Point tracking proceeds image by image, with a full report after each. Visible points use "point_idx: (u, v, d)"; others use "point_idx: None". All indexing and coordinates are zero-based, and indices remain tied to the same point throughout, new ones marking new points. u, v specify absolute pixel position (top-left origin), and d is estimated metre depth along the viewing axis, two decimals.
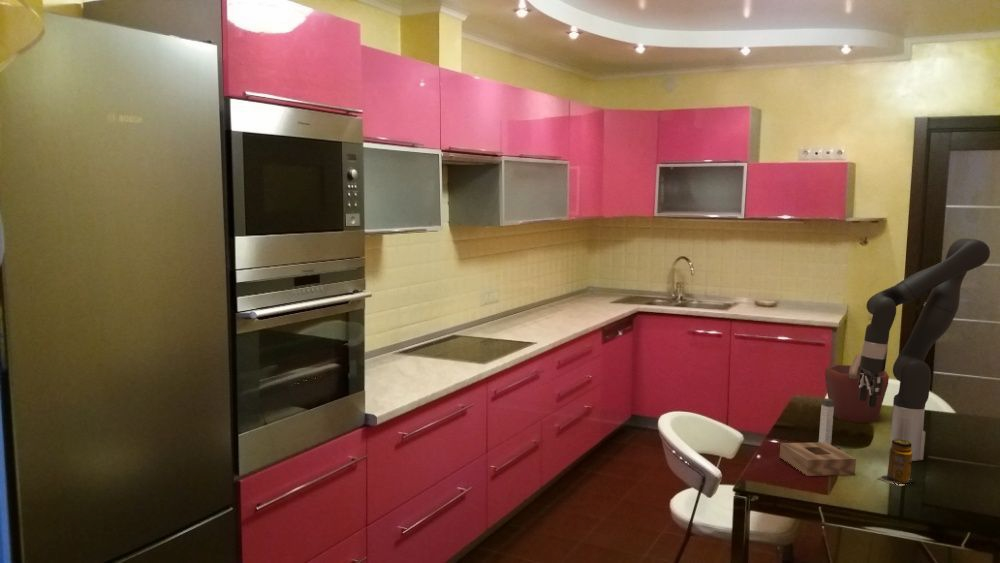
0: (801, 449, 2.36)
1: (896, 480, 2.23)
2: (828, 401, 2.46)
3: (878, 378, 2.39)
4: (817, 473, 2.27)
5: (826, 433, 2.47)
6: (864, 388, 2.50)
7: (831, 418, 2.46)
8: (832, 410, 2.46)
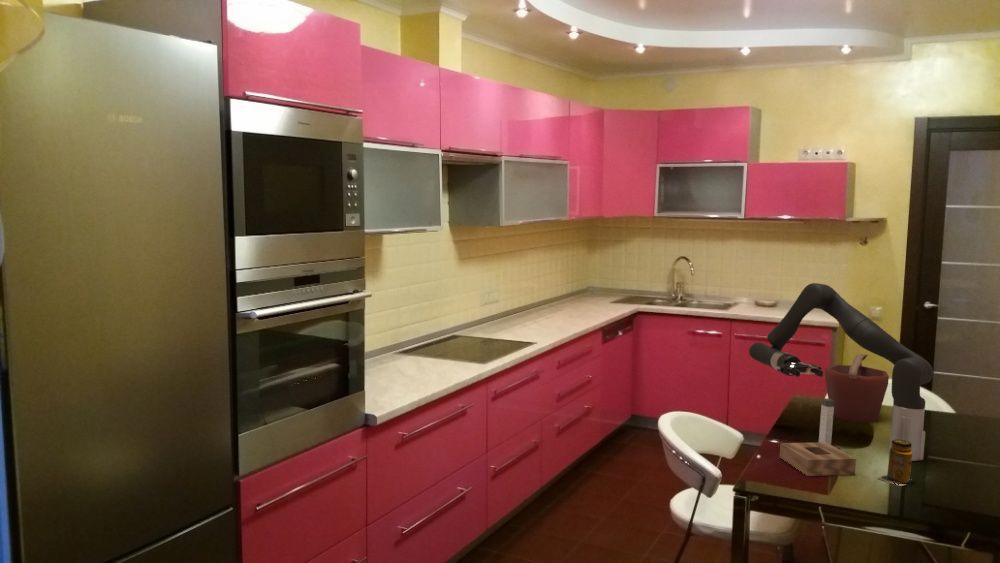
0: (801, 449, 2.36)
1: (896, 480, 2.23)
2: (828, 401, 2.46)
3: (777, 367, 2.66)
4: (817, 473, 2.27)
5: (826, 433, 2.47)
6: (814, 370, 2.62)
7: (831, 418, 2.46)
8: (832, 410, 2.46)
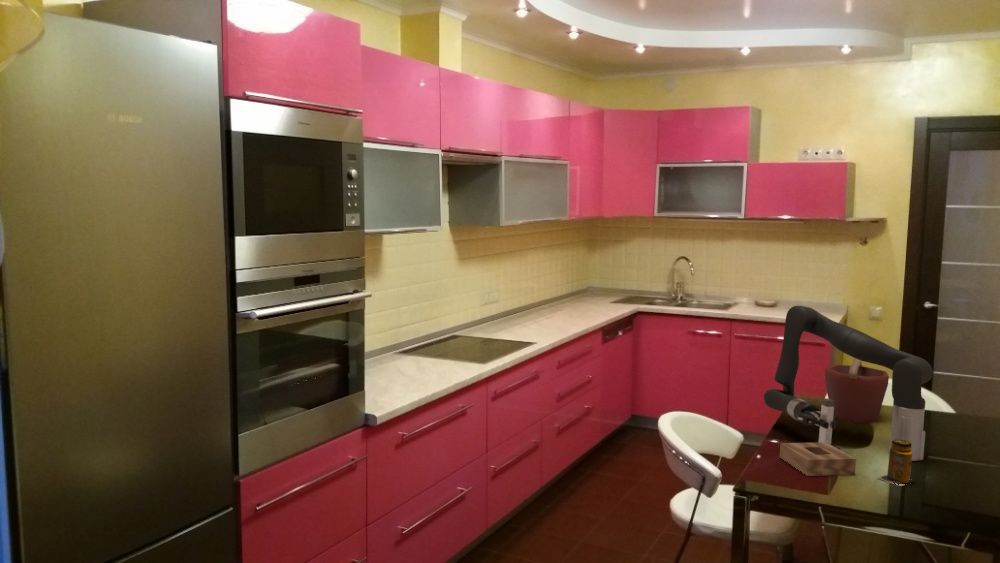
0: (801, 449, 2.36)
1: (896, 480, 2.23)
2: (828, 401, 2.46)
3: (798, 418, 2.53)
4: (817, 473, 2.27)
5: (826, 433, 2.47)
6: None
7: (831, 418, 2.46)
8: (832, 410, 2.46)
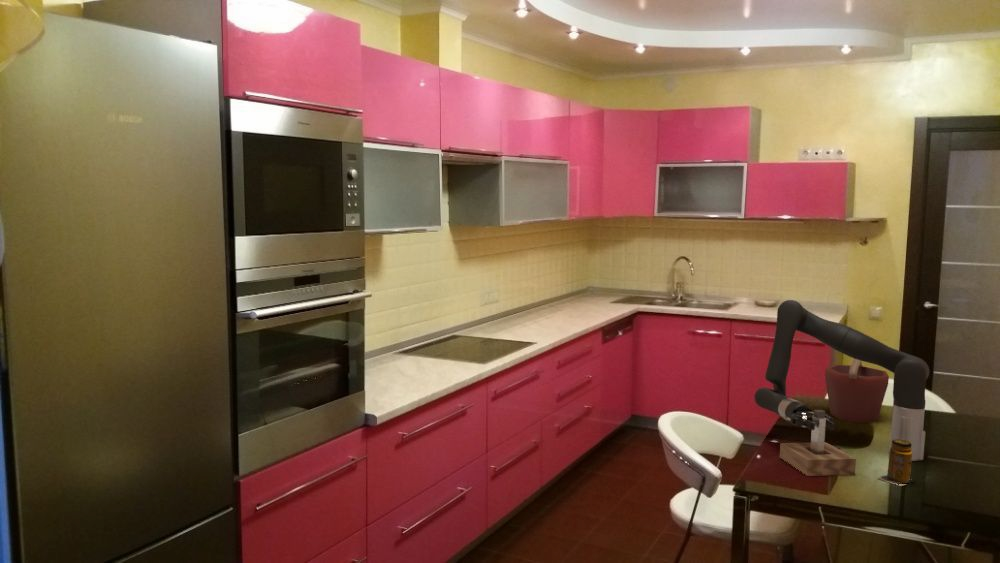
0: (801, 449, 2.36)
1: (896, 480, 2.23)
2: (820, 412, 2.32)
3: (786, 418, 2.40)
4: (817, 473, 2.27)
5: (818, 446, 2.32)
6: None
7: (823, 430, 2.32)
8: (824, 422, 2.32)
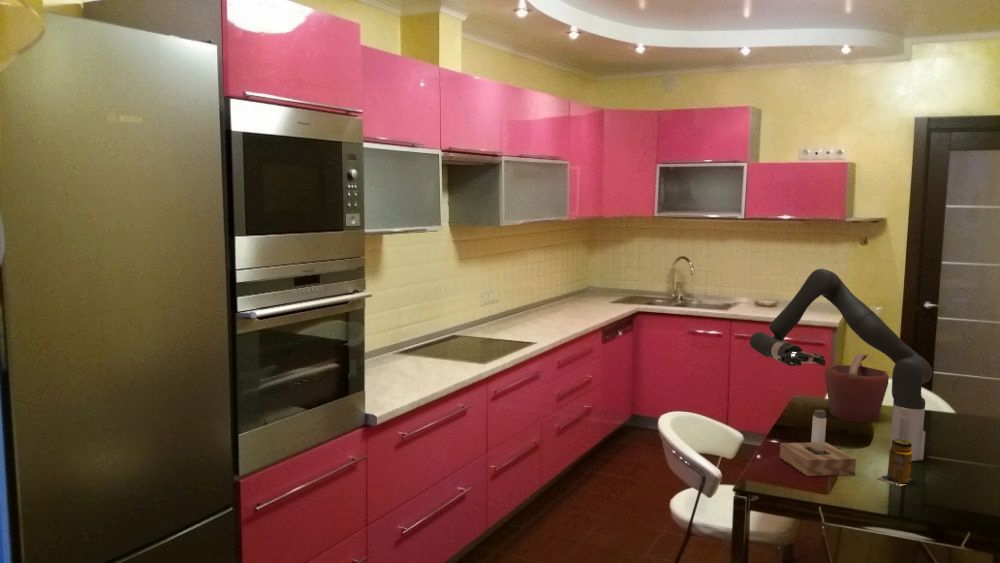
0: (801, 449, 2.36)
1: (896, 480, 2.23)
2: (820, 412, 2.32)
3: (778, 357, 2.57)
4: (817, 473, 2.27)
5: (818, 446, 2.32)
6: (816, 359, 2.53)
7: (824, 430, 2.32)
8: (825, 422, 2.32)
